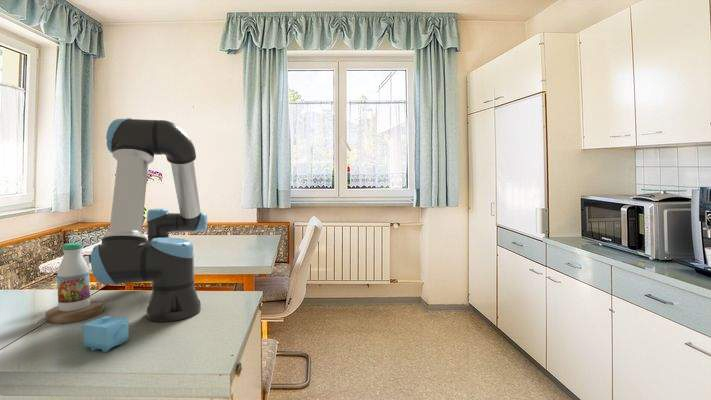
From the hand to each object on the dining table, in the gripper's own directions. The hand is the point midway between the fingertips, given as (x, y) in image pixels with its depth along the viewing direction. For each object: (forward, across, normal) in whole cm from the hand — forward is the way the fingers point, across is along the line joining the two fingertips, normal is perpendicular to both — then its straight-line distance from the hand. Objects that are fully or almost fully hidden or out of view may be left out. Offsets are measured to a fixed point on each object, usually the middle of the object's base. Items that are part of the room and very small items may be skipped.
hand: (86, 265), depth 113 cm
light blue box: (+20, -29, -14) cm, 38 cm away
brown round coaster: (+5, 0, -14) cm, 15 cm away
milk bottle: (+4, 0, -12) cm, 13 cm away
